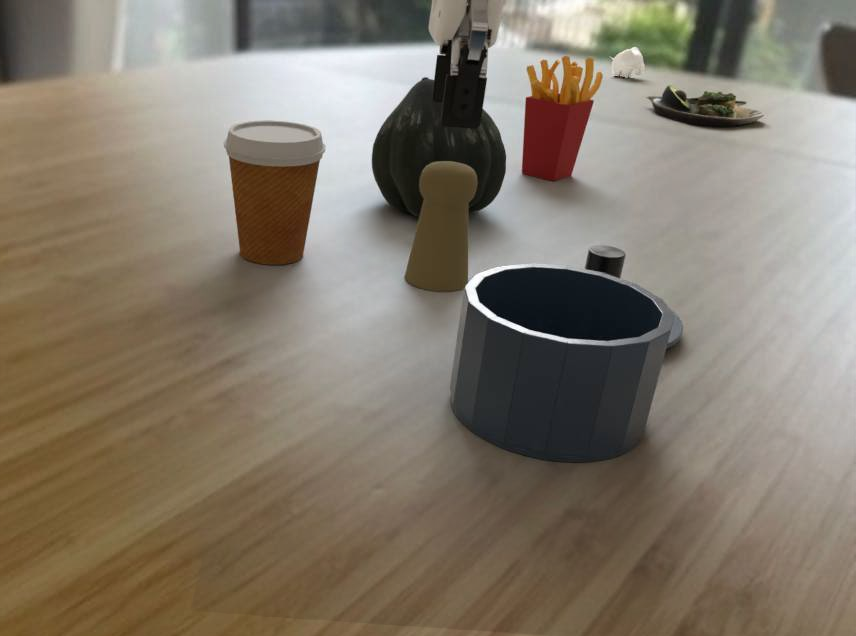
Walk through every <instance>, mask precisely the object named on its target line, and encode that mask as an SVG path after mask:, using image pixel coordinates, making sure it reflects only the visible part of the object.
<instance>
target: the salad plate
mask: <svg viewBox="0 0 856 636" xmlns="http://www.w3.org/2000/svg"><path fill="white" fill-rule="evenodd" d="M661 95H662V96H655V95H654V96H653V95H652V96H647V97H645V98H646V99H648V100H649V101H650V102H651V105H652V107H653V109H654V112H655V114H657V115H659V116H662V117H665V118H668V117H669V119H671V118H672V120H674V119H676V120H675V121H677V120H679V121H678V122H681V121H683V122H682V123H685V122H687V123H686V124H690V123H691V124H690V125H695V124H697V126H701V125H704V126H703V127H710V126H714V127H713V128H724V127H723V126H728V127H737V126H736V125H739V126H743V124H744V125H748V124H753V123H755V122H756V121H759V120H760V119H762V118H763V117H764V112H763V111H761V110H758V109H752V108H746V107H742V106H745V105H747V101H744V100H737V95H735V94H734V93H733V92H728V93H723V92H722V91H718V92H715V91H714V92H713V91H707V90H705V91H704V92H703V94H702V95H701V96H699V97H696V96H689V97H687V93H686V92H685V91H684V90H679V89H677V88H675V87H674V86H672V85H671V84H669V85H667V86H666V87H665V89H664V91H663V93H662V94H661ZM752 122H753V123H752ZM747 123H748V124H747ZM716 126H717V127H716Z"/></svg>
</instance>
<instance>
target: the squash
mask: <svg viewBox="0 0 856 636" xmlns="http://www.w3.org/2000/svg"><path fill="white" fill-rule="evenodd" d="M433 85H434V79H431V78H429V77H426V76H424V77H422V78H421V80H419V81H418V82H416V83H415V84H414V85H413V86H412V87H411V88H410V89H409V91H408V92H407V93H406V94H405V96H404V97H403V98H402V100H401V101H400V102H399V103H398V104H397V106H396V107H395V108H394V109H393V111H392V112H391V113H390V114H389V115H388V116H387V118H386V119H385V120H384V121H383V123H382V124H381V126H380V128H379V130H378V132H377V134H376V135H375V136H376V137H375V139H374V141H373V145H372V153H371V170H372V175H373V178H374V181H375V183H376V185H377V187H378V189H379V192H380V193H381V195H382V197H383V198H384V200H385V201H386V203H387V204H388V205H389V206H390V207H391V208H393V209H395V210H396V211H398V212H402V213H410V214H411V215H412V216H414V217H417V218H419V216H420V212H421V208H422V204H423V200H424V198H423V196H422V194H421V193H420V188H419V181H420V176H421V174H422V171H423V169H424V168H425V167H426V166H427V165H429V164H431V163H433V162H439V161H452V162H458V163H462V164H465V165H468V166H470V167H471V168H472V169H473V170H474V171H475V173H476V175H477V182H478V183H477V190H476V193H475V195H474V198H473V199H472V200H471V201H470V202H469V203H468V214H473V213H477V212H479V211H481V210H483V209H485V208H487V207H488V206H489V205H490V204H491V203H493V202H494V201H495V199H496V198H497V196H498V195H499V193H500V192H501V189H502V187H503V183H504V180H505V176H506V170H507V153H506V148H505V144H504V141H503V139H502V135H501V132H500V129H499V127H498V126H497V124H496V122H495V121H494V120H493V118H492V116H491V115H490V114H489V113H488V112H487V111H486V110H485V109H484V108H483V110H482V116H481V123H480V126H479V127H478V128H476V129H472V128H458V127H445V126H443V125H442V123H441V114H442V106H443V102H435V101H434V100H433V98H432V94H433Z"/></svg>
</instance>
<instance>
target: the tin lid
mask: <svg viewBox="0 0 856 636" xmlns="http://www.w3.org/2000/svg"><path fill="white" fill-rule="evenodd" d="M625 259H626V252H625V251H624V250H623V249H620V248H618V247H615V246H610V245H603V244H602V245H601V244H598V245H592V246H590V247H589V248H588V250H587V255H586V261H585V265H584V269H587V270H592V271H597V272H602V273H606V274H608V275H611V276H614V277H617V278H620V279H621V278H622V273H623V268H624V264H625ZM670 310H671V311H672V312H673V314H674V315H675V318H674V322H673V326H672V330H671V333H670V337H669V341H668V344H667V348H666V350H667V349H670V348H671V347H673V346H675V345H676V344H677V343H678V342H679V341H680V340H681V338H682V335H683V332H684V325H683V321H682V320H681V318H680V316H679V315H678V314H677V313H676V312H674V311H673V310H672V309H671V308H670Z"/></svg>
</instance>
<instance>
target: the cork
mask: <svg viewBox="0 0 856 636" xmlns="http://www.w3.org/2000/svg"><path fill="white" fill-rule="evenodd" d="M477 183H478V182H477V175H476V173H475V171H474V170H473V169H472V168H471V167H470V166H468V165H465V164H462V163H458V162H452V161H439V162H433V163H431V164H429V165H427V166H426V167H425V168H424V169H423V171H422V174H421V176H420V181H419V188H420V193H421V194H422V196H423V198H424V200H423V204H422V208H421V212H420V216H419V217H418V220H417V225H416V229H415V233H414V237H413V241H412V244H411V245H412V246H411V249H410V253H409V257H408V262H407V265H406V270H405V274H404V279H405V281H406V282H407V283H409V285H411V286H413V287H415V288H419V289H422V290H425V291H430V292H439V293H440V292H446V293H447V292H456V291H460V290H464V287H465V285H466V284H467V283H468V282H469V213H468V203H469V202H470V201H471V200H472V199H473V198H474V195H475V193H476V190H477Z"/></svg>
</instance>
